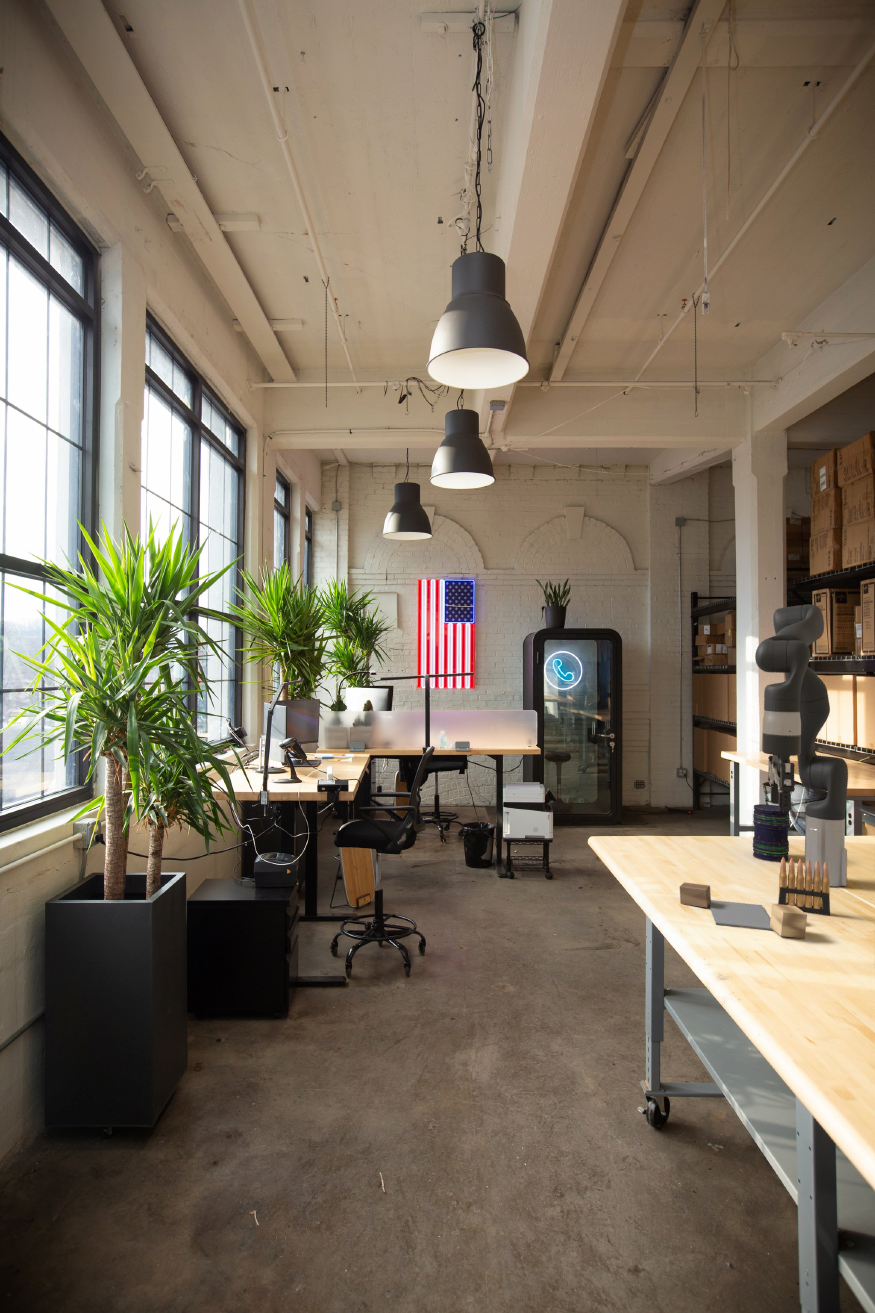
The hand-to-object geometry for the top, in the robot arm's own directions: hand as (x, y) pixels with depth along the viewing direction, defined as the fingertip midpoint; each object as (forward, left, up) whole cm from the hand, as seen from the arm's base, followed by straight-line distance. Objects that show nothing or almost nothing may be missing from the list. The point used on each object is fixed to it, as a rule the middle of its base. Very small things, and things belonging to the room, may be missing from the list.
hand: (780, 807), depth 153 cm
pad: (+7, -6, -26) cm, 28 cm away
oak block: (-1, +3, -26) cm, 26 cm away
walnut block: (+16, -11, -26) cm, 32 cm away
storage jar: (-10, -63, -26) cm, 69 cm away
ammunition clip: (-8, -14, -26) cm, 31 cm away
